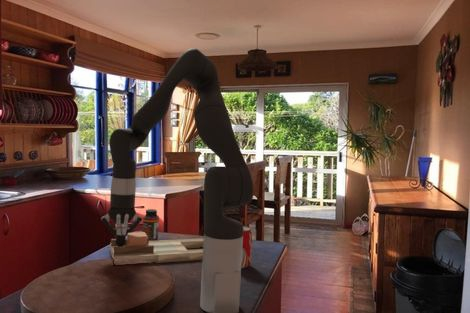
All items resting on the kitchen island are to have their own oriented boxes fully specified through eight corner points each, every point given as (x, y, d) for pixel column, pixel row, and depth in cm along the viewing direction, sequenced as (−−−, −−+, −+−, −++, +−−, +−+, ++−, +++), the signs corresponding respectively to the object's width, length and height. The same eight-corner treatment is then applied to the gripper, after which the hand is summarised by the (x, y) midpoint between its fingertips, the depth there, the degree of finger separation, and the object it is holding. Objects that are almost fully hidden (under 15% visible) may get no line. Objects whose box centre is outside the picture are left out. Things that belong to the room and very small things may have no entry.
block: (146, 250, 125) (147, 236, 125) (129, 251, 123) (129, 237, 123) (143, 245, 131) (144, 232, 130) (126, 246, 128) (127, 232, 128)
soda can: (248, 270, 119) (250, 231, 118) (225, 267, 120) (228, 229, 120) (252, 263, 126) (254, 226, 125) (230, 260, 127) (232, 224, 127)
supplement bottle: (138, 241, 144) (140, 210, 144) (146, 237, 150) (148, 207, 149) (153, 243, 143) (154, 212, 142) (160, 239, 148) (162, 209, 148)
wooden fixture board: (224, 258, 130) (225, 244, 130) (114, 265, 117) (114, 250, 116) (209, 244, 145) (209, 232, 144) (110, 250, 131) (110, 236, 131)
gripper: (101, 193, 118) (99, 250, 119) (146, 193, 123) (143, 248, 124) (100, 189, 125) (97, 243, 126) (142, 190, 130) (139, 241, 131)
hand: (120, 245), depth 125 cm, fingers closed
